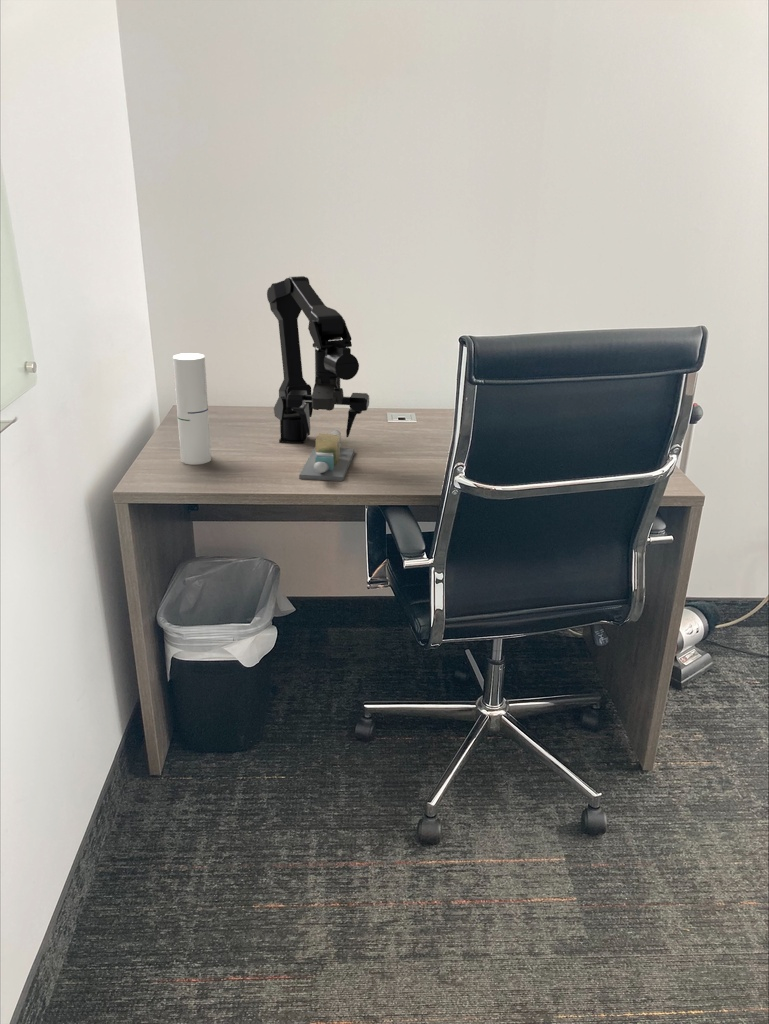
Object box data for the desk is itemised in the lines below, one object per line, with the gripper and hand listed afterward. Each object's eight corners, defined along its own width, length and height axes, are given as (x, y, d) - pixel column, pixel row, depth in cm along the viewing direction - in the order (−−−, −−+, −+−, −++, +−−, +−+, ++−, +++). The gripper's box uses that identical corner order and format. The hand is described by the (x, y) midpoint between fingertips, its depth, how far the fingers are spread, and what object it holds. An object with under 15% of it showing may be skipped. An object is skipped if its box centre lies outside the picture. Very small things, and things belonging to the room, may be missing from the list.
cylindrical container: (210, 464, 192) (204, 359, 182) (180, 465, 191) (171, 360, 181) (211, 454, 198) (205, 352, 189) (181, 455, 197) (173, 353, 188)
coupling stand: (296, 483, 182) (296, 461, 180) (316, 447, 205) (316, 427, 203) (340, 485, 181) (340, 464, 179) (355, 449, 205) (356, 429, 203)
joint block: (315, 464, 191) (315, 440, 188) (319, 457, 195) (319, 433, 193) (336, 465, 190) (336, 441, 188) (339, 458, 195) (339, 434, 192)
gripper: (279, 376, 177) (281, 444, 183) (364, 380, 176) (363, 448, 182) (290, 365, 188) (291, 430, 194) (370, 369, 186) (369, 433, 192)
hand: (328, 435), depth 190 cm, fingers open, 9 cm apart
